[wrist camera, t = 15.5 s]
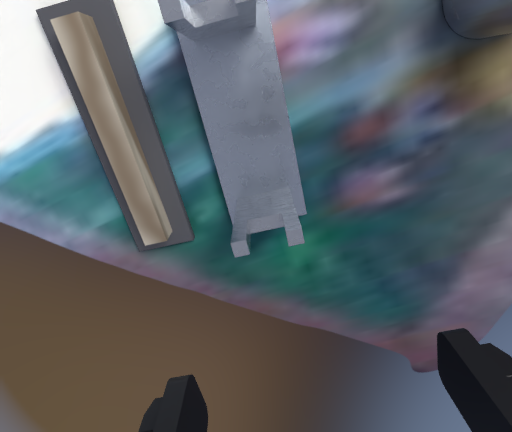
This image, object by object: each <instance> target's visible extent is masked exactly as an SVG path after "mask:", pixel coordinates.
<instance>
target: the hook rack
mask: <svg viewBox="0 0 512 432" xmlns="http://www.w3.org/2000/svg"><path fill="white" fill-rule="evenodd" d="M158 3H159V6H160V9H161V13H162V16H163V19H164V23H165V24H166V25H168V26H170V27H171V28H173V29H174V30H176V31H177V34H178V38H179V41H180V45H181V48H182V52H183V55H184V59H185V62H186V65H187V69H188V72H189V76H190V79H191V83H192V86H193V90H194V93H195V97H196V100H197V103H198V107H199V110H200V114H201V117H202V121H203V124H204V128H205V131H206V135H207V138H208V141H209V145H210V148H211V152H212V155H213V159H214V162H215V166H216V169H217V173H218V176H219V179H220V183H221V186H222V190H223V193H224V197H225V200H226V204H227V207H228V211H229V214H230V217H231V221H232V224H233V230H232V237H231V246H232V250H233V253H234V256H235V257H240V256H244V255H249V254H250V239H251V233H256V232H261V231H265V230H270V229H275V228H279V227H284V226H285V230H286V235H287V240H288V244H289V246H293V245H298V244H303V243H305V242H304V237H303V232H302V228H301V224H300V221H299V218H298V216H300V215H305V214H307V213H306V207H305V202H304V197H303V191H302V186H301V180H300V175H299V170H298V164H297V159H296V154H295V148H294V143H293V138H292V132H291V127H290V122H289V116H288V111H287V106H286V100H285V95H284V90H283V84H282V79H281V74H280V68H279V63H278V58H277V52H276V47H275V42H274V36H273V31H272V26H271V20H270V15H269V10H268V4H267V0H158Z"/></svg>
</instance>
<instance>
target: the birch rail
mask: <svg viewBox="0 0 512 432" xmlns="http://www.w3.org/2000/svg"><path fill="white" fill-rule="evenodd" d="M50 21H51V23H52V26H53V28H54V30H55V33H56V35H57V38H58V40H59V42H60V45H61V47H62V49H63V52H64V54H65V57H66V59H67V61H68V64H69V66H70V68H71V71H72V73H73V76H74V78H75V80H76V83H77V85H78V87H79V90H80V92H81V95H82V97H83V99H84V102H85V104H86V106H87V109H88V111H89V114H90V116H91V118H92V121H93V123H94V125H95V128H96V130H97V133H98V135H99V137H100V140H101V142H102V145H103V147H104V149H105V152H106V154H107V156H108V159H109V161H110V164H111V166H112V168H113V171H114V173H115V175H116V178H117V180H118V183H119V185H120V187H121V190H122V192H123V194H124V197H125V199H126V202H127V204H128V206H129V209H130V211H131V213H132V216H133V218H134V221H135V223H136V225H137V228H138V230H139V232H140V235H141V237H142V240H143V242H144V244H145V246H146V245H150V244H155V243H160V242H164V241H167V240H168V238H169V236H170V235H171V233H172V228H171V225H170V223H169V220H168V217H167V215H166V212H165V209H164V207H163V204H162V201H161V199H160V196H159V193H158V191H157V188H156V185H155V183H154V180H153V177H152V175H151V172H150V169H149V167H148V164H147V161H146V159H145V156H144V153H143V151H142V148H141V145H140V143H139V140H138V137H137V135H136V132H135V129H134V127H133V124H132V121H131V119H130V116H129V113H128V111H127V108H126V105H125V103H124V100H123V97H122V95H121V92H120V89H119V87H118V84H117V81H116V79H115V76H114V73H113V71H112V68H111V65H110V63H109V60H108V57H107V55H106V52H105V49H104V47H103V44H102V41H101V39H100V36H99V33H98V31H97V28H96V25H95V23H94V20H93V17H91V16H88V15H86V14H83V13H81V12H75V13H71V14H68V15H64V16H61V17H57V18H54V19H51V20H50Z"/></svg>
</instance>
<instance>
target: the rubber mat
mask: <svg viewBox="0 0 512 432" xmlns="http://www.w3.org/2000/svg"><path fill="white" fill-rule="evenodd" d="M36 12H37V14H38V17H39V19H40V21H41V24H42V26H43V28H44V31H45V33H46V35H47V38H48V40H49V42H50V45H51V47H52V49H53V52H54V54H55V56H56V59H57V61H58V63H59V66H60V68H61V70H62V73H63V75H64V77H65V79H66V82H67V84H68V86H69V89H70V91H71V93H72V96H73V98H74V100H75V103H76V105H77V107H78V110H79V112H80V114H81V117H82V119H83V121H84V124H85V126H86V128H87V131H88V133H89V135H90V138H91V140H92V142H93V145H94V147H95V149H96V152H97V154H98V156H99V159H100V161H101V163H102V166H103V168H104V170H105V172H106V175H107V177H108V179H109V182H110V184H111V186H112V189H113V191H114V193H115V196H116V198H117V200H118V203H119V205H120V207H121V210H122V212H123V214H124V217H125V219H126V221H127V224H128V226H129V228H130V231H131V233H132V235H133V238H134V240H135V242H136V245H137V247H138V249H139V252H140V251H145V250H150V249H154V248H159V247H164V246H168V245H173V244H178V243H183V242H187V241H192V240H194V238H195V236H194V233H193V230H192V227H191V224H190V222H189V219H188V216H187V213H186V210H185V207H184V204H183V201H182V198H181V196H180V193H179V190H178V187H177V184H176V181H175V178H174V175H173V172H172V170H171V167H170V164H169V161H168V158H167V155H166V152H165V149H164V146H163V144H162V141H161V138H160V135H159V132H158V129H157V126H156V123H155V120H154V118H153V115H152V112H151V109H150V106H149V103H148V100H147V97H146V94H145V92H144V89H143V86H142V83H141V80H140V77H139V74H138V71H137V68H136V66H135V63H134V60H133V57H132V54H131V51H130V48H129V45H128V42H127V39H126V37H125V34H124V31H123V28H122V25H121V22H120V19H119V16H118V13H117V11H116V8H115V5H114V2H113V0H68V1H65V2H61V3H58V4H55V5H51V6H48V7H44V8H41V9H38V10H36ZM75 12H81V13H83V14H86V15H88V16H91V17H93V20H94V23H95V25H96V28H97V31H98V33H99V36H100V39H101V41H102V44H103V47H104V49H105V52H106V55H107V57H108V60H109V63H110V65H111V68H112V71H113V73H114V76H115V79H116V81H117V84H118V87H119V89H120V92H121V95H122V97H123V100H124V103H125V105H126V108H127V111H128V113H129V116H130V119H131V121H132V124H133V127H134V129H135V132H136V135H137V137H138V140H139V143H140V145H141V148H142V151H143V153H144V156H145V159H146V161H147V164H148V167H149V169H150V172H151V175H152V177H153V180H154V183H155V185H156V188H157V191H158V193H159V196H160V199H161V201H162V204H163V207H164V209H165V212H166V215H167V217H168V220H169V223H170V225H171V228H172V233H171V235H170V236H169V238H168V240H167V241H164V242H160V243H155V244H150V245H146V246H145V244H144V242H143V240H142V237H141V235H140V232H139V230H138V228H137V225H136V223H135V221H134V218H133V216H132V213H131V211H130V209H129V206H128V204H127V202H126V199H125V197H124V194H123V192H122V190H121V187H120V185H119V183H118V180H117V178H116V175H115V173H114V171H113V168H112V166H111V164H110V161H109V159H108V156H107V154H106V152H105V149H104V147H103V145H102V142H101V140H100V137H99V135H98V133H97V130H96V128H95V125H94V123H93V121H92V118H91V116H90V114H89V111H88V109H87V106H86V104H85V102H84V99H83V97H82V95H81V92H80V90H79V87H78V85H77V83H76V80H75V78H74V76H73V73H72V71H71V68H70V66H69V64H68V61H67V59H66V57H65V54H64V52H63V49H62V47H61V45H60V42H59V40H58V38H57V35H56V33H55V30H54V28H53V26H52V23H51V21H50V20H51V19H54V18H57V17H61V16H64V15H68V14H71V13H75Z"/></svg>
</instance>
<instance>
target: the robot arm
mask: <svg viewBox="0 0 512 432" xmlns="http://www.w3.org/2000/svg"><path fill="white" fill-rule="evenodd" d="M442 3H443V12H444V15H445V18H446V21H447V22H448V24H449V26H450V27H451V28H452V29H453V30H454V31H455V32H456V33H457V34H459V35H461V36H463V37H466V38H470V39H482V38H487V37H493V36H498V35H504V34H510V33H512V0H442ZM437 356H438V371H439V375H440V378H441V380H442V383H443V385H444V387H445V389H446V390H447V392H448V393H449V395H450V397H451V398H452V400H453V402H454V403H455V405H456V407H457V408H458V410H459V411H460V413H461V415H462V416H463V418H464V419H465V421H466V423H467V424H468V426H469V428H470V429H471V431H472V432H512V358H511V356H510V355H508V354H506V353H505V352H503V351H502V350H500V349H499V348H497V347H495V346H493V345H492V344H491V343H487V344H482V345H480V344H479V343H478V342H477V341H476V339H475V338H474V337H473V336H472V335H471V333H470V332H469V331H468V330H466V329H464V328H461V329H456V330H450V331H444V332H439V333H438V335H437ZM207 426H208V413H207V406H206V403H205V401H204V398H203V396H202V394H201V391H200V389H199V387H198V384H197V382H196V380H195V377H194V376H193V375H186V376H181V377H175V378H170V379H169V380H168V382H167V385H166V389H165V392H164V395H163V397H161V398H156V399H155V400H154V401H153V402H152V404H151V406H150V407H149V408H148V410H147V411H146V413H145V414H144V417H143V420H142V423H141V426H140V429H139V432H207Z"/></svg>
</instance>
